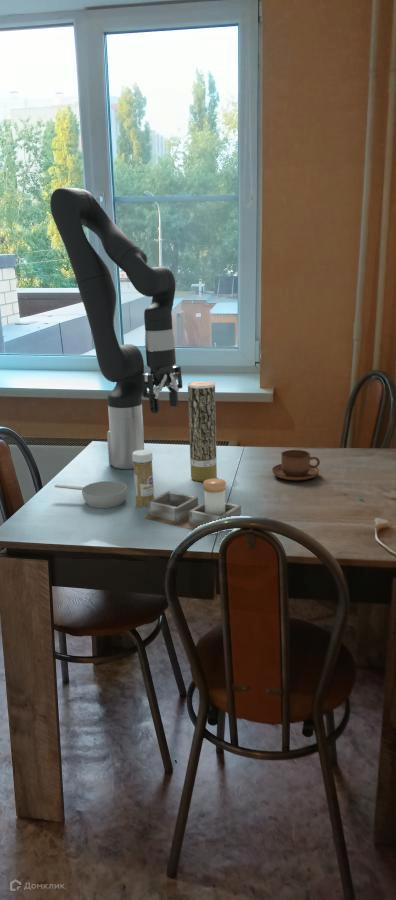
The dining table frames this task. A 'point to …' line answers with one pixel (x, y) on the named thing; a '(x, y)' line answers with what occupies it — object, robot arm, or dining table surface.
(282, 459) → the cup and saucer
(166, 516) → the board
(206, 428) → the paper tube
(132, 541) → the dining table surface
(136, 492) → the sprinkles bottle
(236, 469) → the dining table surface
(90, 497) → the small pan
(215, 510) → the white lotion bottle
